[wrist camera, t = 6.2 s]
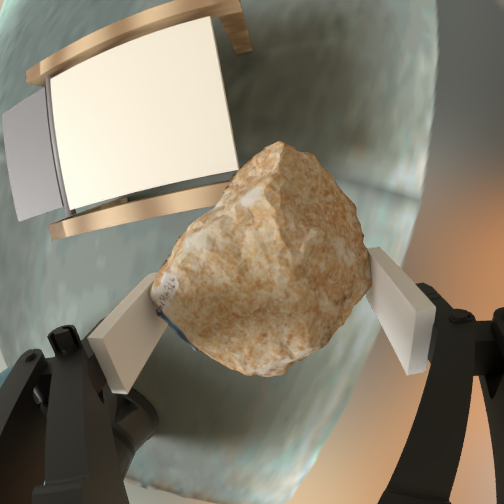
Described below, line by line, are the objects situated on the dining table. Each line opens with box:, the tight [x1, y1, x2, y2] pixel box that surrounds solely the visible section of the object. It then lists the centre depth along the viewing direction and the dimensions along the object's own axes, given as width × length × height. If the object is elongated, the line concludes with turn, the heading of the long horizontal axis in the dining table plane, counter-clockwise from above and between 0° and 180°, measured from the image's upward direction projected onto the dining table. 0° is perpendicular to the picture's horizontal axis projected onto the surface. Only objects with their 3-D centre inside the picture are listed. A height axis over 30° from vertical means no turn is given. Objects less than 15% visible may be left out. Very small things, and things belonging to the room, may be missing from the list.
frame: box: [26, 0, 253, 240], centre depth 28 cm, size 21×18×14 cm
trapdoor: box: [2, 16, 240, 222], centre depth 24 cm, size 24×14×5 cm, turn 100°
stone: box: [149, 141, 372, 377], centre depth 14 cm, size 8×10×4 cm
